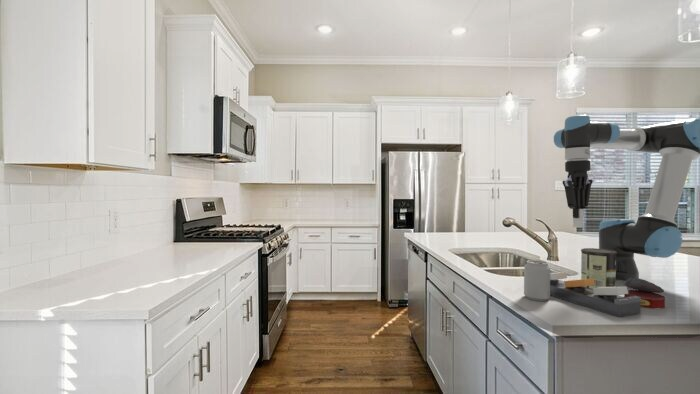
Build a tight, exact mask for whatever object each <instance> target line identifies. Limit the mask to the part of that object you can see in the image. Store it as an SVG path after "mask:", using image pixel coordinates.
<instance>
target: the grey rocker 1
mask: <svg viewBox="0 0 700 394" xmlns="http://www.w3.org/2000/svg"><path fill="white" fill-rule="evenodd" d="M555 279H557V280H566V279H568V276H567V272H566V271H565V272H564V271H563V272H550V280H555Z"/></svg>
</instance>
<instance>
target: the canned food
mask: <svg viewBox="0 0 700 394" xmlns="http://www.w3.org/2000/svg"><path fill="white" fill-rule="evenodd" d="M626 286H627V290H628V294H623V297H629V296H638V297H641V308H646V309H655V308H660V309H664V308H665V306H666V297H665V296H664V295H663V294H662V293H665V289H663V288H662V287H661V286H659V285H657V284H655V283H654V282H651V281H648V280H646V279H643V278H640V277H639V278H629V279H625V281H624V282H623V287H626Z"/></svg>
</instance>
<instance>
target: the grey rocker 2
mask: <svg viewBox="0 0 700 394" xmlns="http://www.w3.org/2000/svg"><path fill="white" fill-rule="evenodd" d="M593 290H594V295H618V296H622V295H623V296H624V294H628V290H629V289H628V287H627V286H616V287H598V288H593Z"/></svg>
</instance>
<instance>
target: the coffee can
mask: <svg viewBox="0 0 700 394" xmlns="http://www.w3.org/2000/svg"><path fill="white" fill-rule="evenodd" d="M580 252H581V253H580V254H581V258H580V259H581V263H580V268H581V269H580V279H591V278H594V282H595V285H590V286H584V287H588V288H592V289H593V288H598V287H617V286H616V254H617V252H616V251H612V250H607V249H599V248H593V247H586V248H584V247H583V248H581V249H580Z"/></svg>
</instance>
